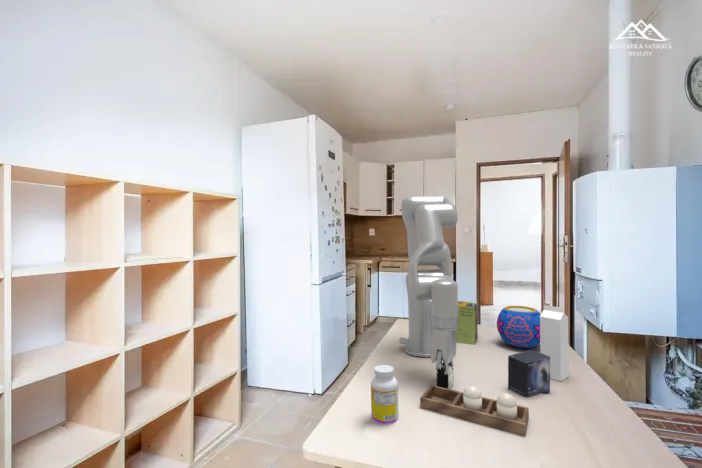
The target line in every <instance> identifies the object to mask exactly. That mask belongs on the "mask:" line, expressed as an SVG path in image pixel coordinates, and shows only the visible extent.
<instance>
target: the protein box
mask: <svg viewBox="0 0 702 468" xmlns="http://www.w3.org/2000/svg"><path fill="white" fill-rule="evenodd" d="M478 327H479V326H478V302H477V301H464V300H463V301H462V300H458V329H456V330H455V331H456V343H461V344H468V345H476V343H477V341H478V337H479V336H478V335H479V334H478V332H479V331H478Z"/></svg>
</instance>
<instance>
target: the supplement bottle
mask: <svg viewBox="0 0 702 468" xmlns="http://www.w3.org/2000/svg"><path fill="white" fill-rule="evenodd" d="M394 374H395V373H394V367H393V366H391V365H387V364H379V365H377V366H375V367H374V376H373V377H372V378H371V381H370V403H371V411H370V412H371V414H370V415H371V421H373V423H374V422H375V423H376V424H378V425H383V426H389V425H393V424H396V423H397V422H398V421H399V383H398V380H397V378H396V377H395V376H394Z"/></svg>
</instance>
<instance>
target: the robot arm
mask: <svg viewBox="0 0 702 468" xmlns="http://www.w3.org/2000/svg"><path fill="white" fill-rule="evenodd" d="M400 212H401V216H402V220H403V223H404V225H405V228H406V231H407V233H406V234H407V236H406V237H407V253H408V263H409V264H408V266H407V267H408V268H407V274H406V275H405V286H406V287H405V288H406V293H407V305H408V308H407V309H408V310H407V311H408V337H407V338H406V337H400V338H399V344H401V345H405V347H404V351H405V353H406V354H407V353H408V354H407V355H409V354H410V356H412V355H413V356H412V357H416V356H418V358H430V360H431V362H432V363H435V367H434V368H435V369H436V386H438V387H442V388H446V389H447V388H448V374H447V365H450V366H451V368H452V370H453V371H454V358H455V357H456V354H457V342H456V331H455V330H456V329H458V301H459V297H458V295H459V287H458V283H457V282H456V281H455V280H454V279H453V274H452V272H453V270H452V256H451V250H450V248H449V245H448V244H447V242H445V239H444V234H443V233H444V232H443V228H453V227H456V225H457V223H458V220H459V219H458V218H459V215H458V211H457V208H456V206H455V204H454V203H453V202H452V201H451V200H450V199H449V198H448V197H447V196H446V195H440V194H439V195H438V194H437V195H436V194H435V195H412V196H411V195H409V196H406V197H405V198H404V199H402V201H401V203H400ZM434 266H435V267H436V268H437V269H429V268H428V269H418V267H434ZM441 365H443V366H445V367H444V368H443V367H442V366H441Z"/></svg>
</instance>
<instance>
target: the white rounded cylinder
mask: <svg viewBox="0 0 702 468" xmlns="http://www.w3.org/2000/svg"><path fill="white" fill-rule="evenodd" d="M441 366H442V367H443V368H444V367H445V366H443V365H441ZM452 368H453V367H452ZM452 368H451V366H450V365H447V374H448V388H447V389H451V390H452V389H453V388H454V369H453V370H452Z"/></svg>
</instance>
